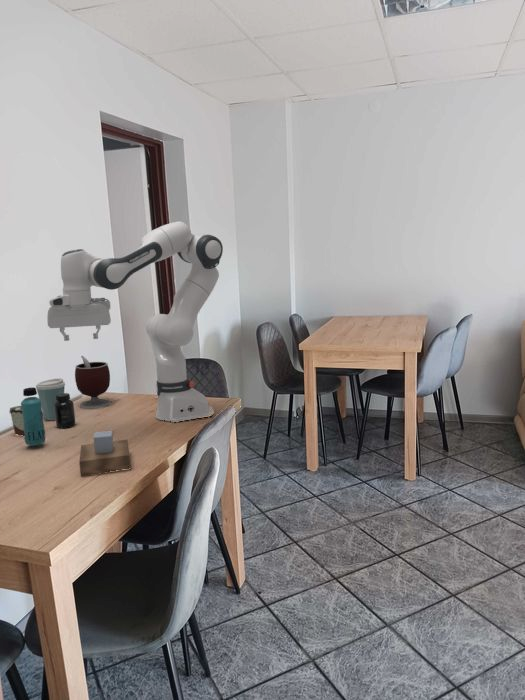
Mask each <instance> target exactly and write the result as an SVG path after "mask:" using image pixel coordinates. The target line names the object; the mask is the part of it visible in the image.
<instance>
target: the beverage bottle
mask: <svg viewBox="0 0 525 700" xmlns="http://www.w3.org/2000/svg"><path fill="white" fill-rule="evenodd" d="M22 392H23V393H22V395H23V397H26V398H23V399H22V401H21V402H20V406H21V407H22V415H23V423H24V429H23V430H24V435H25V437H24V442H25V443H24V444H26V445H27V446H36V445H41V444H44V443H45V441H46V430H45V423H44V414H43V410H42V406H41V400H40V399H39V397H37V396H36V395H38V392H37V388H36V387H26V388H23V391H22Z"/></svg>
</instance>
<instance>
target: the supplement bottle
mask: <svg viewBox="0 0 525 700" xmlns="http://www.w3.org/2000/svg"><path fill="white" fill-rule="evenodd" d="M56 401H57V402H56V403H55V404H54V410H55V419H56V420H55V424H56V428H58V429H68V428H72V427H74V426H75V425H76V415H75V408H74V407H75V406H74V404H75V403H74V402H73V401H72V400H71V396H70V393H68V392H64V393H62V394H58V395H56Z"/></svg>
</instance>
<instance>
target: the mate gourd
mask: <svg viewBox="0 0 525 700" xmlns="http://www.w3.org/2000/svg"><path fill="white" fill-rule="evenodd" d="M80 357H81V359H82V361H83V362H82V363H79V364H76V365H75V371H74V380H75V383H76V384H75V385H76V387H77V388H76V389H77V390H78V391H79V392H80V393H81V395H83V396H87V397H90V399H89V400H86V401H85V400H84V401H82V402H81V403H80V404H79V407H80V408H81V409H84V408H85V409H84V410H94V408H96V409H101V407H102V408H105V407H108V406H110V404H111V400H109V399H104V398H103V399H102V398H99V396H101V395H102V394H104V393H106V392H107V391H108V389H109V387H110V384H111V374H110V373H111V372H110V367H109V365H108V362H105V361H89V360H88V359H87V358H86V357H85V356H84V355H81V356H80Z"/></svg>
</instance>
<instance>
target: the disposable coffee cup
mask: <svg viewBox="0 0 525 700" xmlns="http://www.w3.org/2000/svg"><path fill="white" fill-rule="evenodd" d="M65 383H66V382H65V381H64V379H63V378H61V377H60V378H51V379H50V378H49V379H47V380H43V381H40V382H38V383H37V384H36V385H35V388H36V392H37V395H38V398H39V399H40V400H41V407H42V411H43V413H42V415H43V418H45V420H46V419H47V420H46V421H56V419H55V410H54V404H55V403H56V402H57V401H56V395H58V394H62V393H65V385H66V384H65Z"/></svg>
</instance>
